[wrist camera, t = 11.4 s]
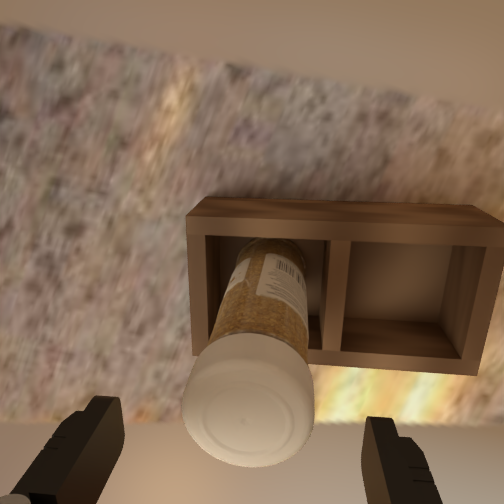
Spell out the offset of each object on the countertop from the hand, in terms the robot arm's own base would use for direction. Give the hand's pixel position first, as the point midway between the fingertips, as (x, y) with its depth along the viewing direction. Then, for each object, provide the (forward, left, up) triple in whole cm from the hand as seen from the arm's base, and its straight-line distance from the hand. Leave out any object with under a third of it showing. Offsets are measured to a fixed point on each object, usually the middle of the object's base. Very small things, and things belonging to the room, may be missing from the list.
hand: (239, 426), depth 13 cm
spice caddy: (+4, -1, -15) cm, 15 cm away
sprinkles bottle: (0, 0, -14) cm, 14 cm away
